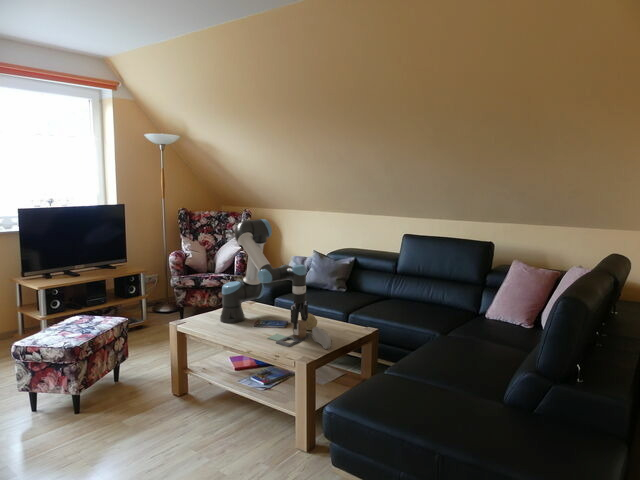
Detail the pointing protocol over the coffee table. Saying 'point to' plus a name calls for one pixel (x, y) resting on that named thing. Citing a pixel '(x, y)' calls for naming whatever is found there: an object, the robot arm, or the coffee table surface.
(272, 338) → the felt pad
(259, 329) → the coffee table surface
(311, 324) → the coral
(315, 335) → the game controller
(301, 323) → the walnut block
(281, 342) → the grey slotted board
